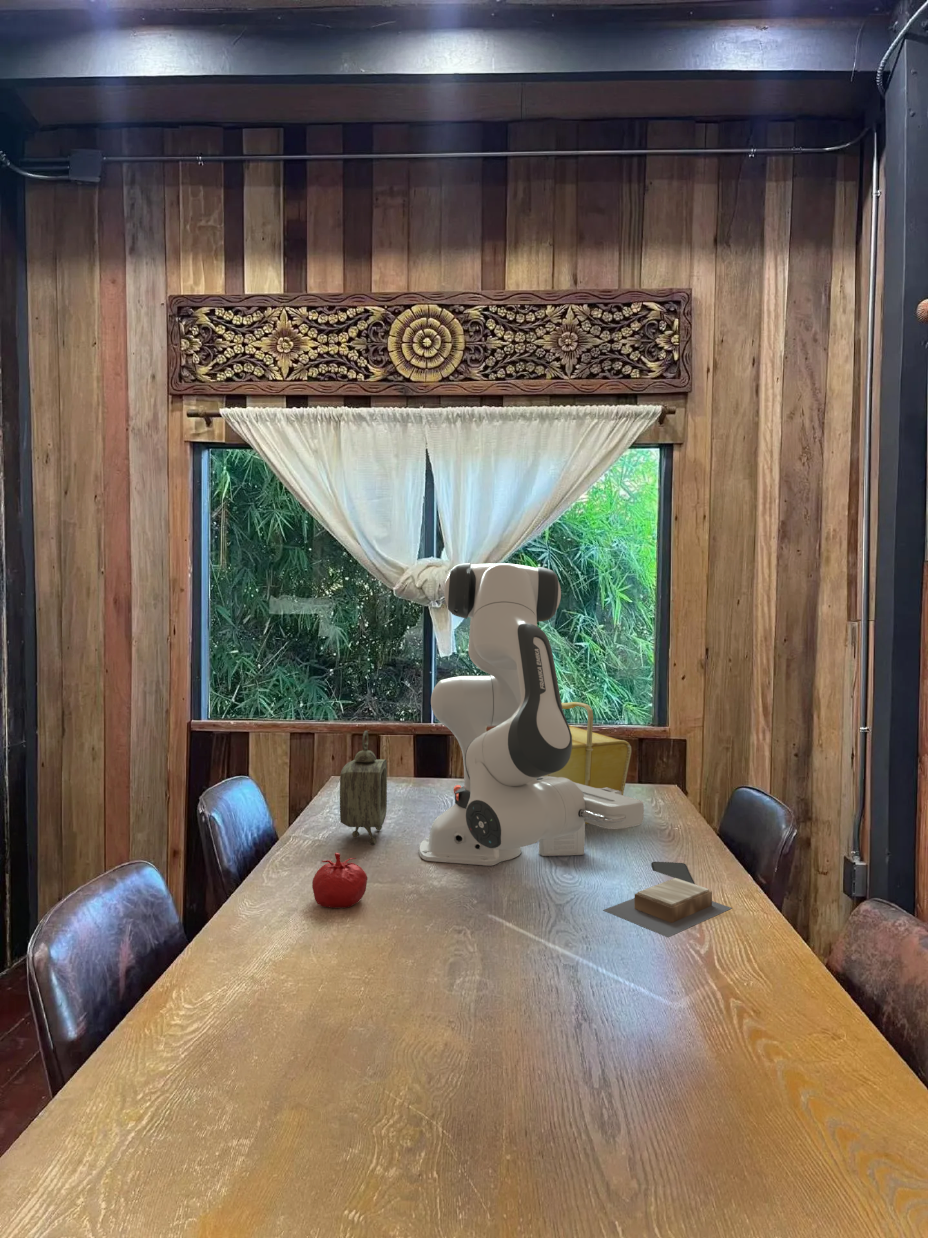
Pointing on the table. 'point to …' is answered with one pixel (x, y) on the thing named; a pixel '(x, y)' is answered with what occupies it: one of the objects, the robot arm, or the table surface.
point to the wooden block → (673, 899)
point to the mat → (660, 925)
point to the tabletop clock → (364, 791)
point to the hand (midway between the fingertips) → (614, 794)
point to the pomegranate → (339, 884)
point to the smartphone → (673, 870)
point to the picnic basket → (595, 757)
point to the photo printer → (564, 844)
